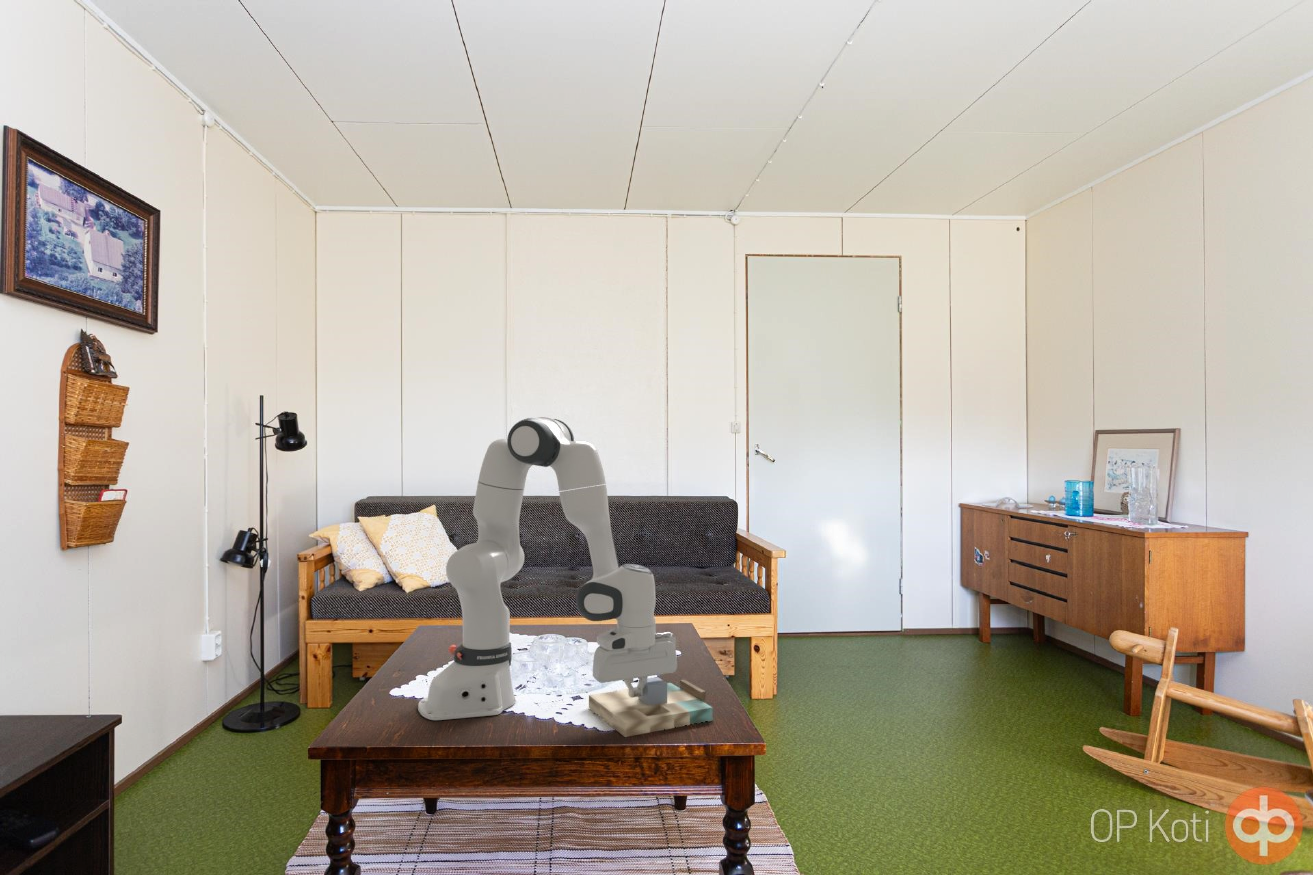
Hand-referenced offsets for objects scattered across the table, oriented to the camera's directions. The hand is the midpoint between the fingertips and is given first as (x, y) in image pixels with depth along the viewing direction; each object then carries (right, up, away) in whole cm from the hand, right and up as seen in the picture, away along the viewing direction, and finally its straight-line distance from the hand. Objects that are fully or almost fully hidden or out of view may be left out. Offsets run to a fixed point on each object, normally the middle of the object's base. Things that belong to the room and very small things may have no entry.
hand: (635, 696), depth 173 cm
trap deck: (+3, -5, +2) cm, 6 cm away
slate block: (+4, -2, +2) cm, 5 cm away
